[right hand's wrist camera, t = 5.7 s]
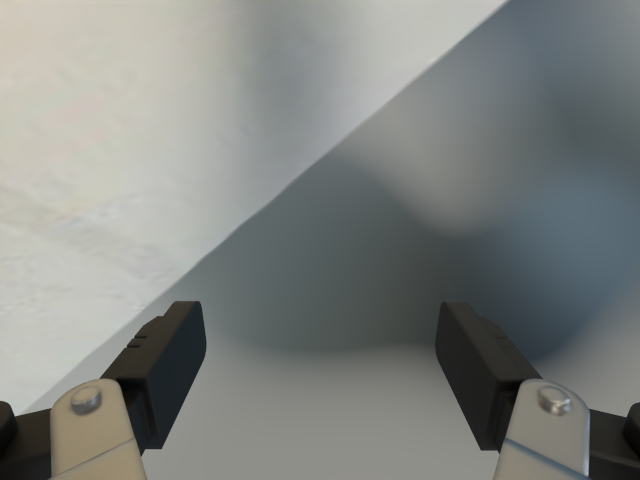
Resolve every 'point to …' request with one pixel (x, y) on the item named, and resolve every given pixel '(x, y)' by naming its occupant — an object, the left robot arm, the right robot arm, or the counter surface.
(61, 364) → the counter surface
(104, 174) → the counter surface
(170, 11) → the counter surface
